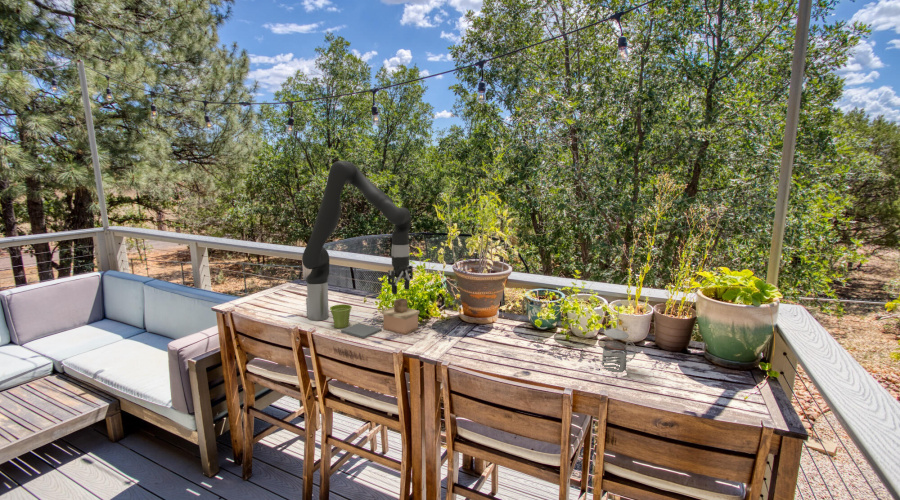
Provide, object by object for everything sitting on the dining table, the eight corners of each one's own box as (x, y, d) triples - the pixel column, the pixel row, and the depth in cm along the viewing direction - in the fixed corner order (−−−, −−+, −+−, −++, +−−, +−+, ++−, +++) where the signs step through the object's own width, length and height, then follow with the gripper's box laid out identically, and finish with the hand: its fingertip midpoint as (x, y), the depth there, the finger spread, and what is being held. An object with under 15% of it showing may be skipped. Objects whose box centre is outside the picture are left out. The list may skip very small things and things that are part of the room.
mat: (341, 332, 179) (341, 330, 179) (359, 325, 188) (359, 322, 188) (363, 338, 172) (363, 336, 172) (381, 330, 181) (381, 328, 181)
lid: (381, 314, 182) (381, 300, 181) (396, 308, 190) (396, 295, 189) (405, 319, 175) (405, 305, 174) (419, 313, 184) (419, 299, 183)
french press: (604, 362, 154) (609, 296, 150) (637, 372, 147) (644, 303, 142) (594, 371, 146) (599, 302, 142) (628, 382, 139) (635, 309, 135)
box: (383, 329, 183) (383, 313, 182) (396, 323, 191) (396, 308, 190) (405, 334, 177) (405, 319, 176) (417, 328, 185) (417, 313, 184)
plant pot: (339, 331, 180) (339, 312, 178) (326, 326, 185) (325, 307, 184) (356, 325, 187) (356, 307, 186) (343, 321, 193) (342, 303, 191)
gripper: (403, 251, 186) (404, 286, 189) (382, 256, 174) (383, 293, 177) (417, 253, 182) (417, 289, 185) (396, 258, 170) (397, 296, 173)
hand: (400, 291), depth 181 cm, fingers open, 8 cm apart
